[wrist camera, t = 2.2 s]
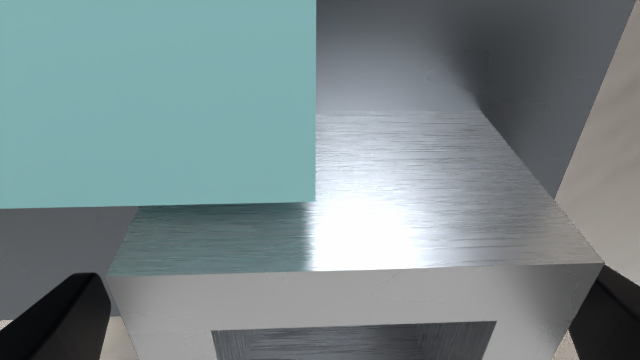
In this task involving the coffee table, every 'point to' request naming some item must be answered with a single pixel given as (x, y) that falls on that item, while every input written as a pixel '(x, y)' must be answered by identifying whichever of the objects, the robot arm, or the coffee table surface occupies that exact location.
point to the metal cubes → (384, 105)
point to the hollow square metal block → (365, 256)
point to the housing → (157, 102)
